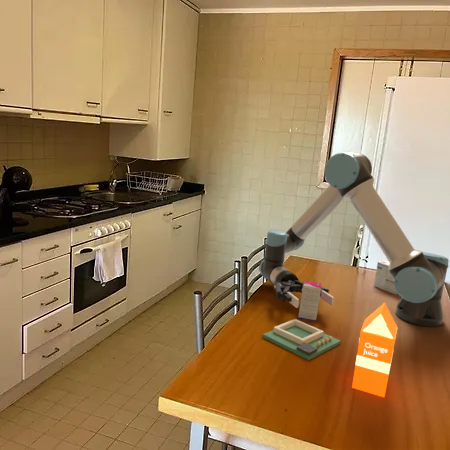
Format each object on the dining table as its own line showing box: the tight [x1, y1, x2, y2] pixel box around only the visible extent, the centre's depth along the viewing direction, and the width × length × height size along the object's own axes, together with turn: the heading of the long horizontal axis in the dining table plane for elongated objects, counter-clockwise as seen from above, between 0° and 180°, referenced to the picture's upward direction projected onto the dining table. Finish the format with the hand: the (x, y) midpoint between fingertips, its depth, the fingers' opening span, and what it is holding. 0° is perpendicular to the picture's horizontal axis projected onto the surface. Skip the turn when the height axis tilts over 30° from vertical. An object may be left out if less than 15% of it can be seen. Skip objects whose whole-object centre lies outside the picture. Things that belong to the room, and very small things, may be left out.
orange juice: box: [351, 301, 398, 398], centre depth 106 cm, size 8×9×20 cm
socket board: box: [262, 318, 342, 361], centre depth 128 cm, size 16×16×2 cm
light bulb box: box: [373, 260, 399, 295], centre depth 180 cm, size 11×7×11 cm, turn 34°
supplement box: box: [297, 280, 322, 322], centre depth 144 cm, size 6×6×12 cm
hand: (315, 302), depth 141 cm, fingers open, 12 cm apart
